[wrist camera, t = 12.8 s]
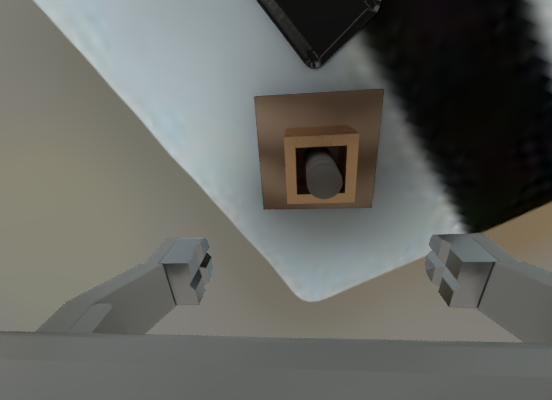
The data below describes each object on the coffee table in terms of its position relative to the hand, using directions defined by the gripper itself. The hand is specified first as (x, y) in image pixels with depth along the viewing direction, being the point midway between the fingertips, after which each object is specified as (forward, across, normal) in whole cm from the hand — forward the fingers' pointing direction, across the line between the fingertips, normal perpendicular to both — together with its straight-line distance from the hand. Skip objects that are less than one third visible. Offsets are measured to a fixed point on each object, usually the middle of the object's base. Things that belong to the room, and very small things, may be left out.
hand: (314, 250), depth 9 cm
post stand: (+20, -1, +1) cm, 20 cm away
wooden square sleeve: (+18, -1, +1) cm, 18 cm away
